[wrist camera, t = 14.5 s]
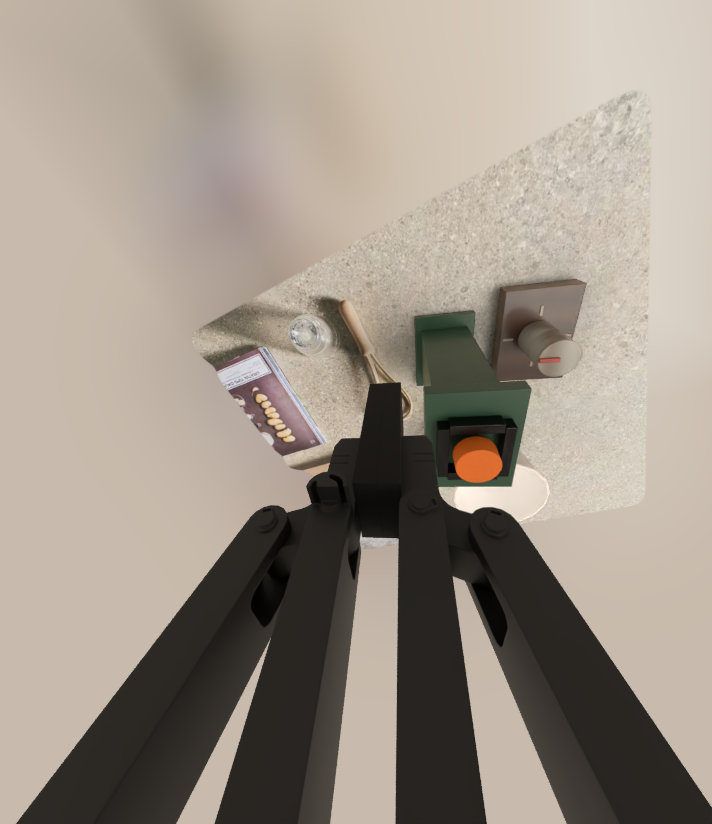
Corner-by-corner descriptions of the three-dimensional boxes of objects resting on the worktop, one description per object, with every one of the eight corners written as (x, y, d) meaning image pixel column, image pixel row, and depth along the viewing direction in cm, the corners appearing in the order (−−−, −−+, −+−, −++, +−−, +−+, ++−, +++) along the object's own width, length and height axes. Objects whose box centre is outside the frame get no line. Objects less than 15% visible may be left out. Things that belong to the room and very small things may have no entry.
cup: (446, 463, 64) (457, 528, 51) (437, 410, 57) (447, 470, 44) (516, 455, 61) (548, 522, 48) (515, 398, 54) (552, 457, 41)
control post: (414, 316, 48) (425, 403, 26) (473, 310, 47) (538, 397, 25) (416, 382, 55) (426, 497, 33) (468, 379, 53) (516, 498, 31)
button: (453, 436, 28) (456, 450, 26) (499, 435, 27) (505, 449, 26) (451, 468, 30) (454, 483, 29) (494, 467, 30) (499, 482, 28)
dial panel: (500, 287, 44) (506, 291, 42) (576, 279, 43) (587, 283, 40) (490, 373, 52) (495, 381, 49) (554, 369, 50) (562, 378, 47)
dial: (558, 319, 43) (588, 339, 36) (550, 352, 46) (577, 377, 39) (521, 321, 44) (543, 342, 37) (515, 354, 46) (535, 379, 40)
